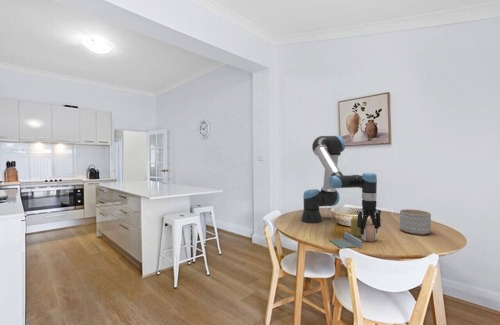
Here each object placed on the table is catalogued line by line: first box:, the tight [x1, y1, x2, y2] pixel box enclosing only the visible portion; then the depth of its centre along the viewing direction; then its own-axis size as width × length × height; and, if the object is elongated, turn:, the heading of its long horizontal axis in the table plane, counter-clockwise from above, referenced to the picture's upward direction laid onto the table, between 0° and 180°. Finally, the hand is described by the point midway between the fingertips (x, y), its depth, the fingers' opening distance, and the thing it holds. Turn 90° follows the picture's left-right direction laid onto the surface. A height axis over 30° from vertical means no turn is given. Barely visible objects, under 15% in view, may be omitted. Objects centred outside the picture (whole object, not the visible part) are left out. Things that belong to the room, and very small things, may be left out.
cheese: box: [350, 215, 370, 237], centre depth 153 cm, size 10×11×10 cm
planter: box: [399, 208, 432, 236], centre depth 156 cm, size 16×16×13 cm
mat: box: [329, 238, 357, 249], centre depth 136 cm, size 12×9×1 cm
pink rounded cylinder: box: [364, 222, 375, 243], centre depth 141 cm, size 6×6×9 cm
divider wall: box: [343, 231, 363, 249], centre depth 137 cm, size 16×1×4 cm, turn 9°
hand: (368, 239), depth 141 cm, fingers closed on pink rounded cylinder, 6 cm apart
